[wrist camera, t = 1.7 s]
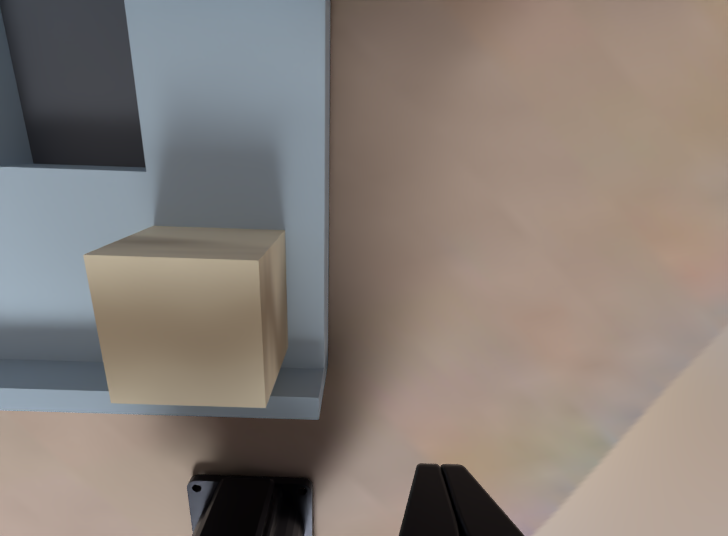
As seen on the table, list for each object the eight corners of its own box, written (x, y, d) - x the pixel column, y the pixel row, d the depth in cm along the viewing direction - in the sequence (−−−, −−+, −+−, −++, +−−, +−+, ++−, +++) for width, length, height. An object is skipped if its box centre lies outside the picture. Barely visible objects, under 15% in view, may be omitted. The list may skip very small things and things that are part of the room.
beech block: (288, 347, 17) (265, 407, 13) (168, 343, 17) (110, 403, 13) (285, 230, 15) (258, 260, 12) (153, 225, 15) (83, 254, 11)
